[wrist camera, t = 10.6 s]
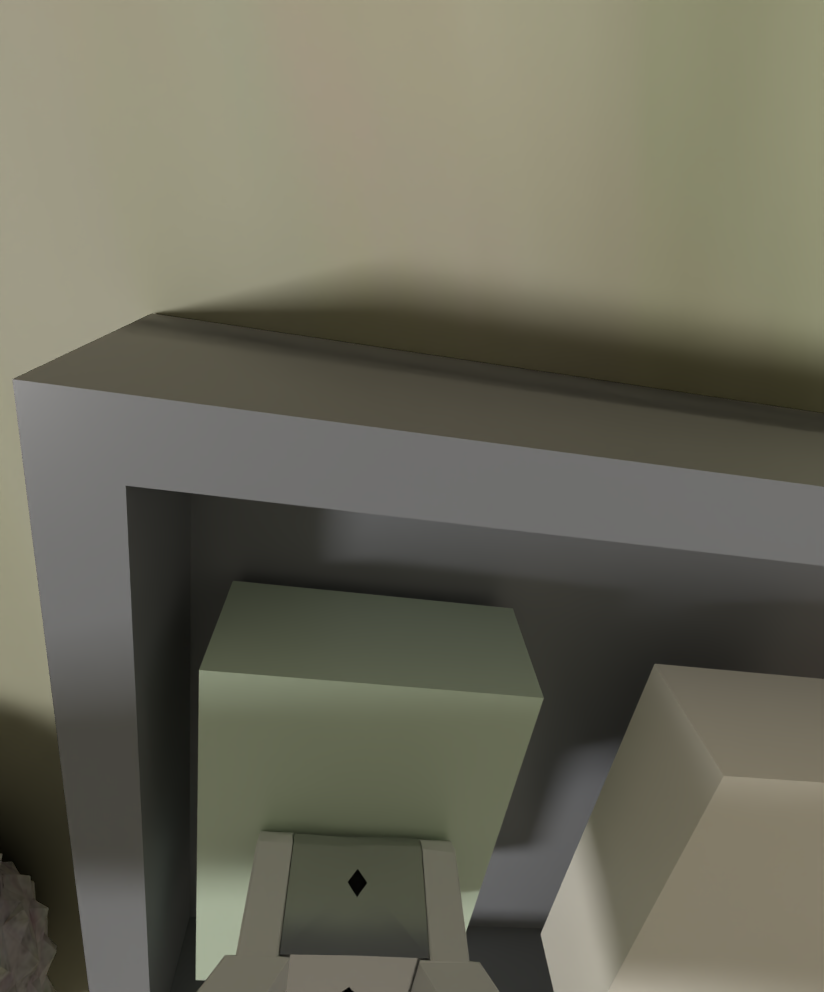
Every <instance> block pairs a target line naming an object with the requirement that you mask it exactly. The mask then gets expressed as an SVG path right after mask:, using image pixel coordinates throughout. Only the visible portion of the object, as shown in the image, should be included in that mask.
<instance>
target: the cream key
mask: <svg viewBox="0 0 824 992" xmlns="http://www.w3.org/2000/svg"><path fill="white" fill-rule="evenodd" d="M541 938H542V943H543V947H544V951H545V956H546V960H547V964H548V969H549V973H550V978H551V982H552V986H553V991H554V992H824V679H819V678H808V677H797V676H786V675H775V674H764V673H752V672H741V671H730V670H719V669H708V668H697V667H686V666H675V665H664V664H654V666H653V669H652V671H651V673H650V676H649V678H648V681H647V683H646V685H645V688H644V690H643V692H642V695H641V697H640V699H639V702H638V704H637V707H636V709H635V711H634V714H633V716H632V718H631V721H630V723H629V726H628V728H627V730H626V733H625V735H624V737H623V740H622V742H621V744H620V747H619V749H618V752H617V754H616V756H615V759H614V761H613V763H612V766H611V768H610V771H609V773H608V775H607V778H606V780H605V782H604V785H603V787H602V789H601V792H600V794H599V797H598V799H597V801H596V804H595V806H594V808H593V811H592V813H591V816H590V818H589V820H588V823H587V825H586V827H585V830H584V832H583V834H582V837H581V839H580V842H579V844H578V846H577V849H576V851H575V853H574V856H573V858H572V861H571V863H570V865H569V868H568V870H567V872H566V875H565V877H564V879H563V882H562V884H561V887H560V889H559V891H558V894H557V896H556V898H555V901H554V903H553V906H552V908H551V910H550V913H549V915H548V917H547V920H546V922H545V925H544V927H543V929H542V932H541Z"/></svg>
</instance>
